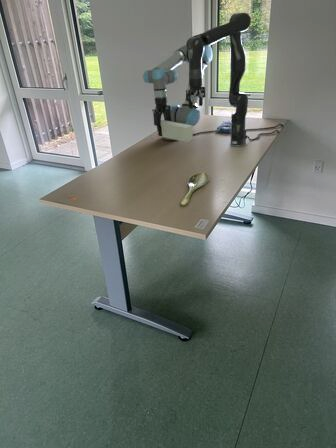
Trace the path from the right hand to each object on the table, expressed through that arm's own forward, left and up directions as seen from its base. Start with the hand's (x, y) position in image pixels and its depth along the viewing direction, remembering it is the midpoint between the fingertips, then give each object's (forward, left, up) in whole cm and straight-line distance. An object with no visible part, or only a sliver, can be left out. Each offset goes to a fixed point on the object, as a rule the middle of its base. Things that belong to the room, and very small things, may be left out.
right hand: (195, 107), depth 197 cm
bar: (+10, -10, -18) cm, 23 cm away
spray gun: (-49, -32, -30) cm, 66 cm away
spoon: (+29, +41, -30) cm, 59 cm away
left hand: (+13, -19, -18) cm, 29 cm away
